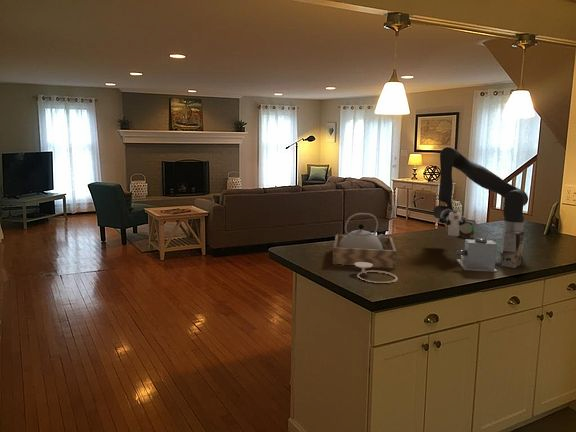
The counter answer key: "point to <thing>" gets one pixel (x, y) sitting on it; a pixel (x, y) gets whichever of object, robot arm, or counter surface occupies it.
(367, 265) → the hand towel holder
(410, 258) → the counter surface
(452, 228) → the white bottle
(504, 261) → the coffee box
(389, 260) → the kettle caddy
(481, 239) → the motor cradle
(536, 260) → the counter surface
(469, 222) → the food container
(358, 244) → the kettle
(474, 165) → the robot arm
